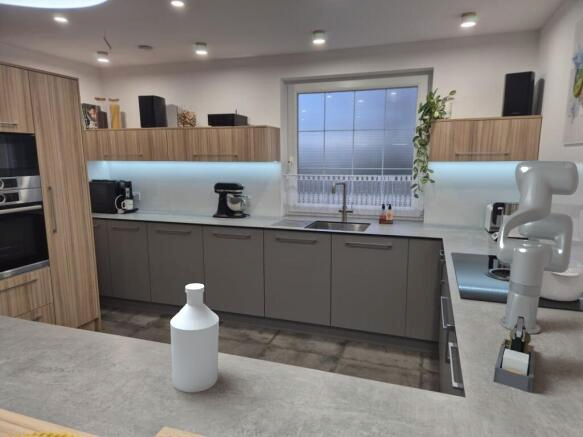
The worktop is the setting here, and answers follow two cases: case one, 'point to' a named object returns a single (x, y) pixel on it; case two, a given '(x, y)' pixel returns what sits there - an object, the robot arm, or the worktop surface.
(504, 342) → the wooden square frame
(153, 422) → the worktop surface
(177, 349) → the bottle
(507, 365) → the white block
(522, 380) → the grey divided tray
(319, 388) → the worktop surface
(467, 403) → the worktop surface
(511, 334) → the cork
